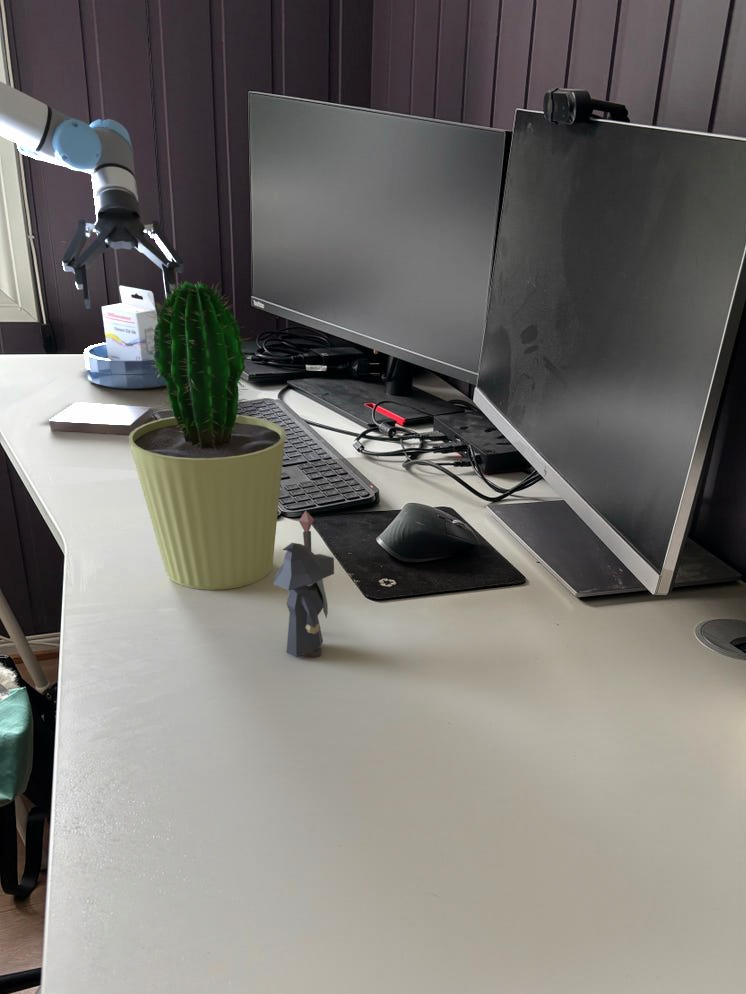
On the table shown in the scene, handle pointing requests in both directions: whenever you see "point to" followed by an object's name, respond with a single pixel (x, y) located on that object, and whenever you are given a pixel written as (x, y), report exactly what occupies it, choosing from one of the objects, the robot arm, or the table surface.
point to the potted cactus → (208, 451)
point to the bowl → (120, 370)
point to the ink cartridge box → (130, 326)
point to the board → (101, 418)
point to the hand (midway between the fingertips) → (128, 303)
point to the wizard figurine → (304, 592)
